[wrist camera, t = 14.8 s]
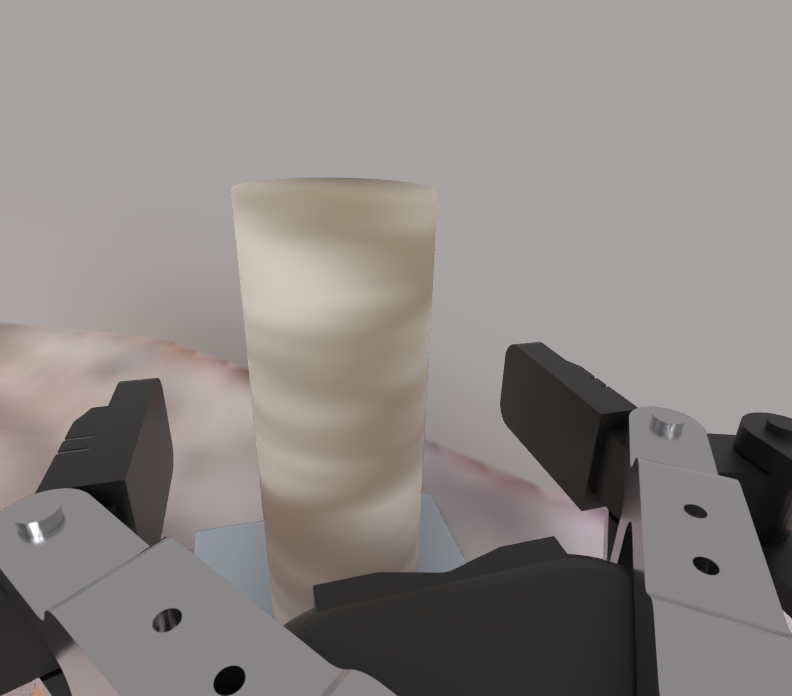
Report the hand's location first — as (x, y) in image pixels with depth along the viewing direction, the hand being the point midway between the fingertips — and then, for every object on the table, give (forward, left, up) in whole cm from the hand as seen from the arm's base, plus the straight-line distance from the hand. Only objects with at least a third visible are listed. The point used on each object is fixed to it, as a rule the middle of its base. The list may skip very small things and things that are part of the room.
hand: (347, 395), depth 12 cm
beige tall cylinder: (0, +1, -9) cm, 10 cm away
